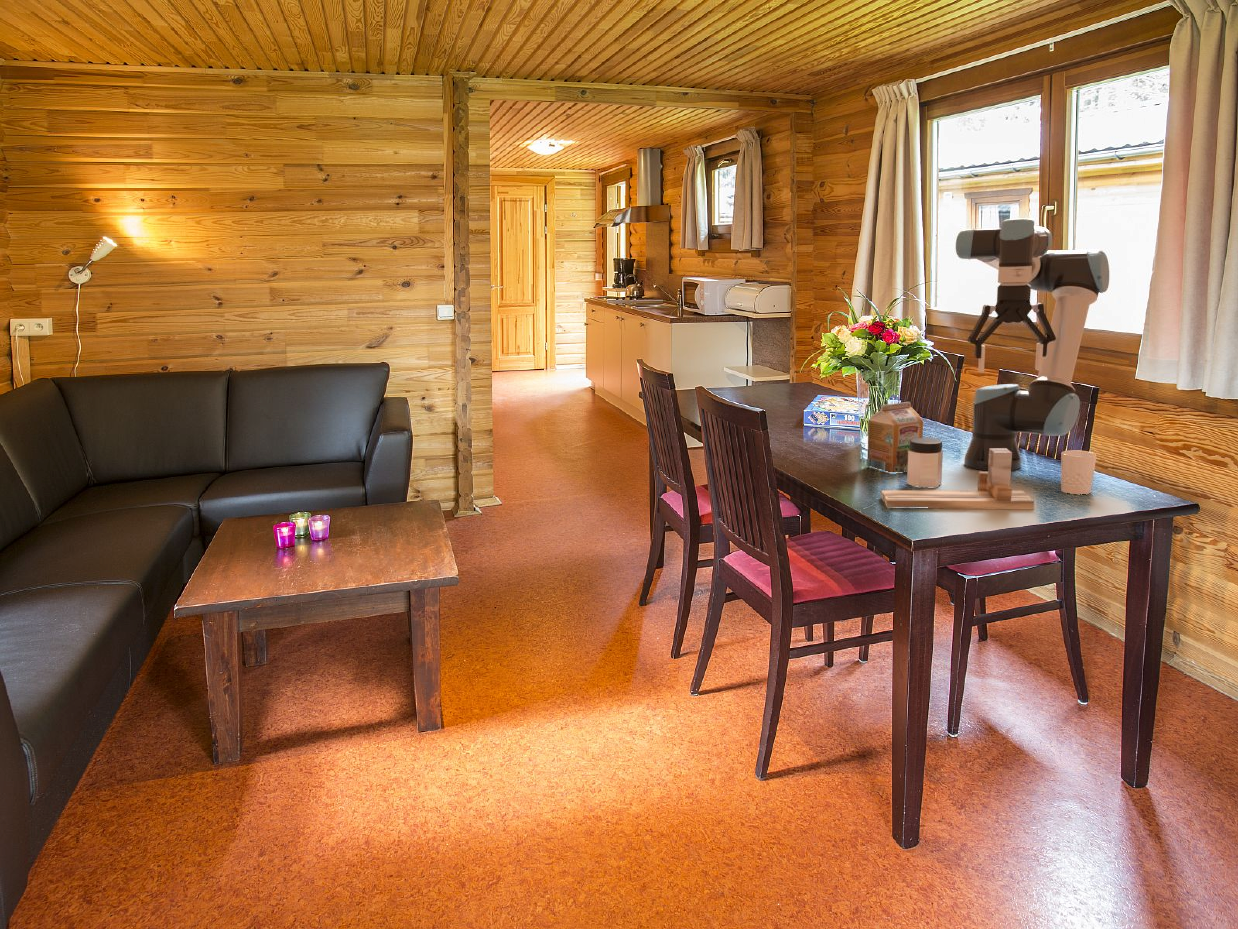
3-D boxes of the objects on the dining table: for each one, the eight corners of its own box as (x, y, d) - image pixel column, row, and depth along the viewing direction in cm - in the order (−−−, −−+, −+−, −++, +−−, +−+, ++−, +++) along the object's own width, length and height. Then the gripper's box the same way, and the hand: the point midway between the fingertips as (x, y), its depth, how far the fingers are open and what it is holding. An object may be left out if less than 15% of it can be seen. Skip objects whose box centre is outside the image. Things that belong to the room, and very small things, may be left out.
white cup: (1097, 496, 232) (1100, 456, 229) (1063, 495, 233) (1066, 456, 231) (1088, 488, 239) (1091, 450, 237) (1055, 487, 241) (1058, 450, 238)
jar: (948, 486, 246) (950, 441, 243) (924, 490, 242) (926, 445, 240) (923, 479, 253) (925, 436, 251) (900, 483, 250) (902, 439, 247)
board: (881, 498, 236) (881, 490, 236) (1021, 498, 231) (1022, 490, 231) (886, 508, 226) (887, 500, 226) (1033, 509, 222) (1034, 500, 221)
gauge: (977, 494, 235) (980, 444, 232) (1002, 494, 234) (1005, 444, 231) (990, 508, 222) (993, 455, 219) (1017, 509, 221) (1020, 455, 218)
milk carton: (895, 463, 274) (897, 399, 270) (921, 470, 264) (923, 404, 260) (867, 467, 269) (869, 402, 265) (892, 474, 260) (894, 407, 256)
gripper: (964, 286, 224) (961, 374, 229) (1073, 282, 221) (1067, 371, 226) (957, 285, 232) (954, 369, 237) (1063, 281, 228) (1057, 367, 233)
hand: (1009, 370), depth 231 cm, fingers open, 13 cm apart
